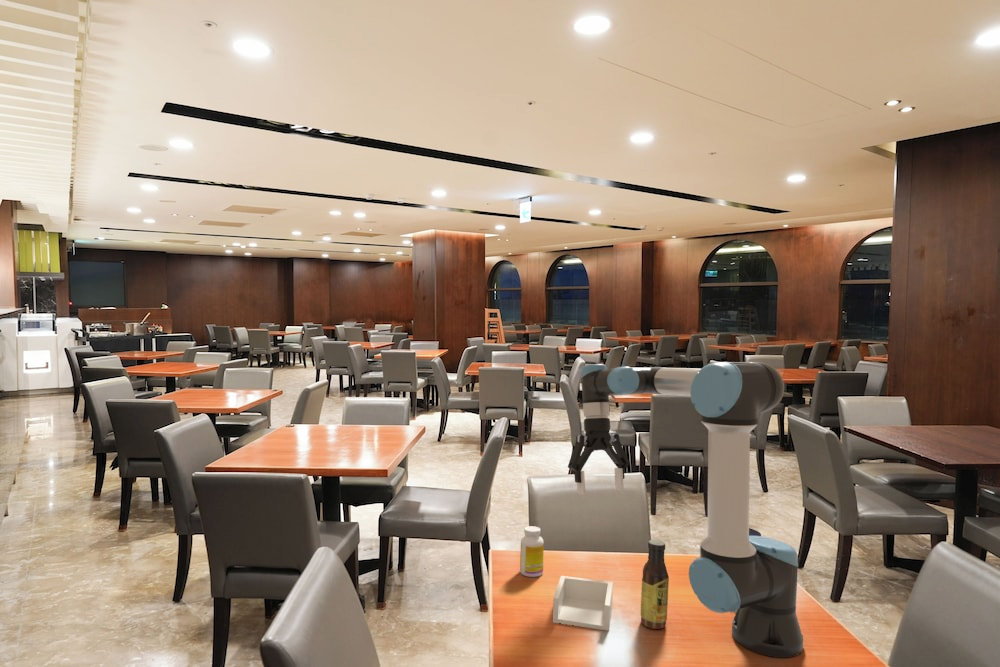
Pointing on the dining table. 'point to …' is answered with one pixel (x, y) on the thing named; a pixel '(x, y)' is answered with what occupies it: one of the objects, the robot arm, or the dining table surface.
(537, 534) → the supplement bottle
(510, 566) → the dining table surface
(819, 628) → the dining table surface
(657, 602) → the sauce bottle
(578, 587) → the bottle stand
